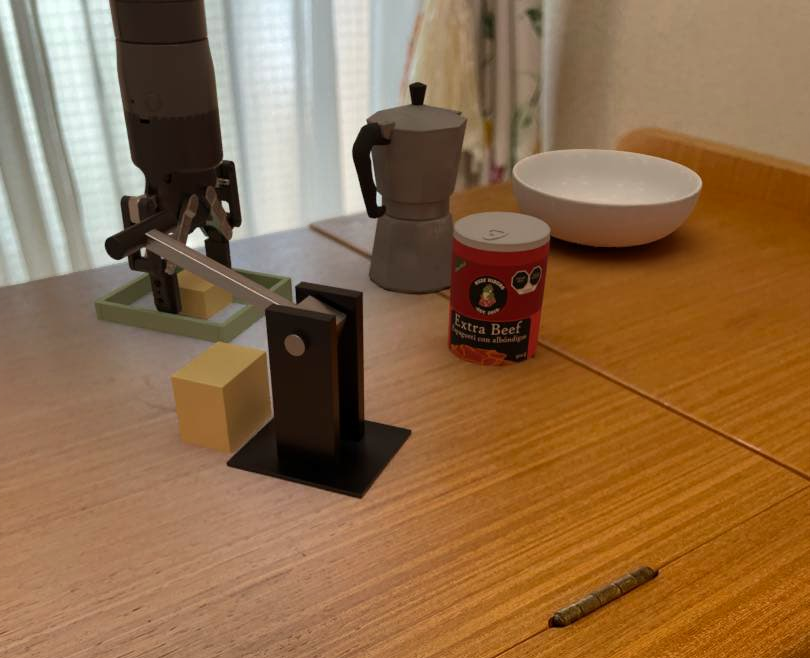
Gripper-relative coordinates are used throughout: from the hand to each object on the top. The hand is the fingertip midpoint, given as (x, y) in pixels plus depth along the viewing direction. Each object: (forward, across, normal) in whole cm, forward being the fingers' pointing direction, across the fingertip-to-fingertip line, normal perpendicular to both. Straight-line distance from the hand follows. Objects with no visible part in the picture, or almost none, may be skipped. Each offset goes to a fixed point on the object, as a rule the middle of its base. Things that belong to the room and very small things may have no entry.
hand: (196, 295), depth 80 cm
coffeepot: (+2, -16, +15) cm, 22 cm away
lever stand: (+2, +18, +22) cm, 28 cm away
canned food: (+2, -3, +28) cm, 28 cm away
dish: (+2, 0, 0) cm, 2 cm away
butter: (+2, +18, +14) cm, 23 cm away
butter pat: (+1, 0, 0) cm, 1 cm away
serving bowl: (+2, -38, +30) cm, 48 cm away
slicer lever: (-9, +18, +15) cm, 25 cm away
